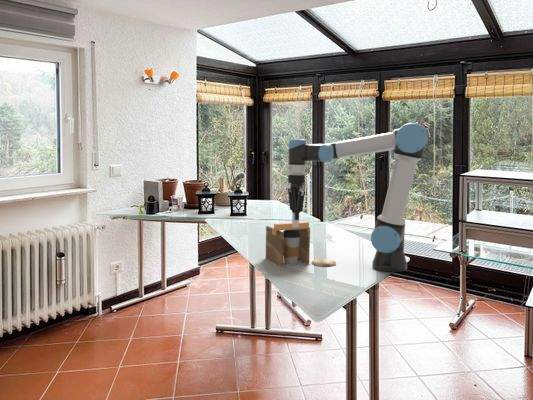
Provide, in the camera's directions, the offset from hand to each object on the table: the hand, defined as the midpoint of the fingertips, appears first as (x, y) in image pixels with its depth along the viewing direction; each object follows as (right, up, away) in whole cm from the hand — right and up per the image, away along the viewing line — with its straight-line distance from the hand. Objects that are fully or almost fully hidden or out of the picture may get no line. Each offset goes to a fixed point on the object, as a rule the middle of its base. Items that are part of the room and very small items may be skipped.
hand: (295, 226), depth 226 cm
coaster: (+13, -17, +6) cm, 23 cm away
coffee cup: (-2, -17, +6) cm, 18 cm away
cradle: (-3, -17, +10) cm, 20 cm away
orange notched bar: (-2, -3, +4) cm, 6 cm away
